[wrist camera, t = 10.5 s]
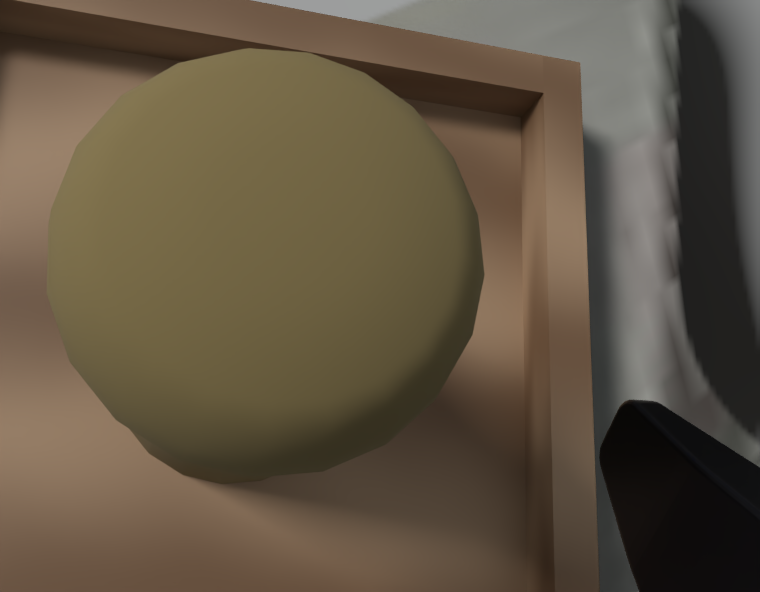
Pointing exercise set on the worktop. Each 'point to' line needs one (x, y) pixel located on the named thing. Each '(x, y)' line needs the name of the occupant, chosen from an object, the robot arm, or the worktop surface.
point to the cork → (263, 264)
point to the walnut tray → (368, 471)
